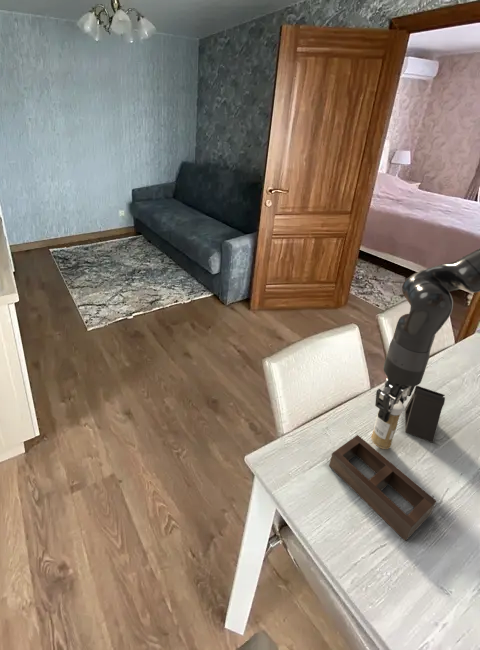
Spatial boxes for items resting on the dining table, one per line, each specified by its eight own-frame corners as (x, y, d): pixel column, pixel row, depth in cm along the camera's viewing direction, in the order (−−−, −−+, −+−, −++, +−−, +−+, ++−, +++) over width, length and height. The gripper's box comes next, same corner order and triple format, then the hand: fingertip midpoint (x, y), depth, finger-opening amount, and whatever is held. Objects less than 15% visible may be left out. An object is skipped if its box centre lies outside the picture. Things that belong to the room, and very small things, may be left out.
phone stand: (405, 409, 98) (416, 376, 94) (430, 418, 95) (443, 385, 91) (405, 432, 91) (417, 398, 87) (432, 443, 88) (446, 408, 84)
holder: (353, 447, 87) (357, 434, 85) (430, 514, 73) (436, 500, 71) (328, 465, 83) (332, 452, 81) (405, 541, 68) (411, 527, 67)
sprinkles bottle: (394, 449, 85) (408, 409, 80) (376, 450, 85) (389, 409, 80) (383, 433, 90) (396, 394, 85) (366, 434, 89) (377, 394, 84)
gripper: (406, 381, 71) (387, 440, 78) (441, 357, 78) (421, 413, 84) (371, 359, 77) (356, 416, 84) (406, 339, 84) (390, 393, 90)
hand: (389, 414), depth 84 cm, fingers closed on sprinkles bottle, 4 cm apart
